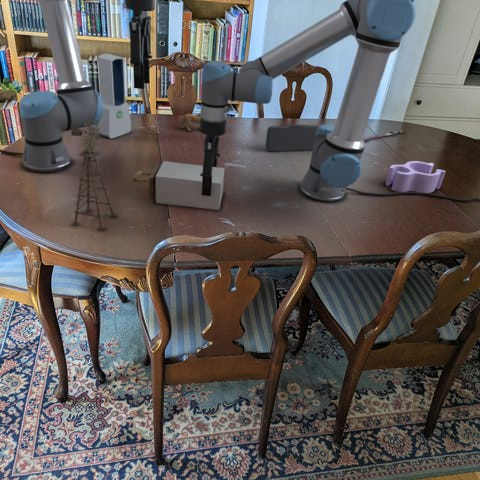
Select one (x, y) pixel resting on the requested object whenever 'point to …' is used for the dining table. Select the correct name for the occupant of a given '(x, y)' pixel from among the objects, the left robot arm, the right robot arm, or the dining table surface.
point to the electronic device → (113, 97)
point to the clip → (414, 177)
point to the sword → (381, 136)
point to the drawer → (151, 180)
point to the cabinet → (188, 186)
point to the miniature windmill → (85, 153)
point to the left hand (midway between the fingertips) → (141, 85)
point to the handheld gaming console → (290, 137)
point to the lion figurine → (188, 118)
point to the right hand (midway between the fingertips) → (209, 185)
